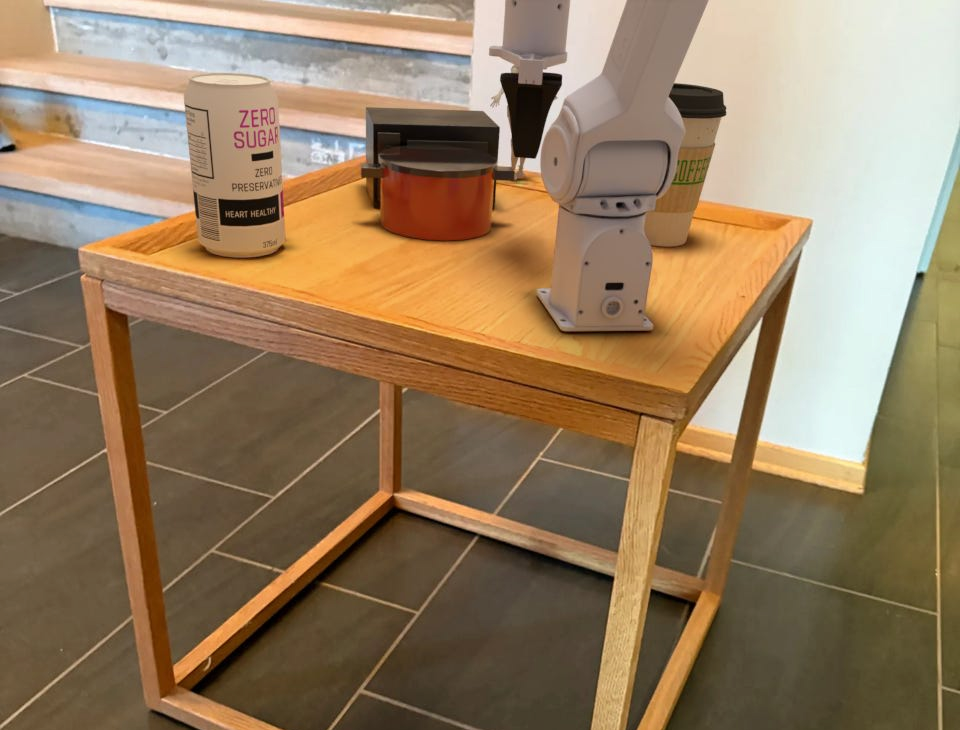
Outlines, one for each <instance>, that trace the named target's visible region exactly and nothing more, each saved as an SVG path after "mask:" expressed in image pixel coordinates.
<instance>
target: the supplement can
mask: <svg viewBox="0 0 960 730" xmlns="http://www.w3.org/2000/svg"><path fill="white" fill-rule="evenodd" d="M183 103H184V113H185V122H186V133H187V142H188V154H189V163H190V172H191V182H192V184H191V185H192V192H193V203H194V212H195V213H194V214H195V222H196V232H197V233H196V235H197V240H198V243H199V244H200V245H201V246H203V247H204V248H205V250H206V251H207V252H209V253H211V254H212V255H216V256H220V257H225V258H226V257H227V258H235V259H236V258H238V259H239V258H240V259H243V258H244V259H246V258H257V257H263V256H267V255H268V256H269V255H271V254H273V253H275V252H277V251H278V250H279V248H280V247H281V246H282V245H283V244H284V243H285V242H286V225H285V224H286V223H285V205H284V186H283V185H284V184H283V168H282V167H283V165H282V164H283V163H282V148H281V147H282V146H281V130H280V129H281V127H280V126H281V125H280V111H279V109H280V108H279V107H280V106H279V98H278V96H277V94H276V92H275V90H274V88H273V86H272V84H271V80H270V78H269V77H267V76H262V75H258V74H250V73H239V72H208V73H207V72H206V73H198V74H197V73H196V74H193V75H190V76H188V83H187V86H186V88H185V91H184V93H183Z"/></svg>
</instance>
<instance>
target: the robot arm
mask: <svg viewBox="0 0 960 730" xmlns="http://www.w3.org/2000/svg"><path fill="white" fill-rule="evenodd" d="M709 1H710V0H626V1H625V4H624V7H623V10H622V13H621V16H620V19H619V21H618V25H617V27H616V30H615V32H614V36H613V39H612V41H611V44H610V48H609V51H608V53H607V57H606V59H605V62H604V65H603V67H602V71H601V73H600V74H599V75H598V76H596V77H595V78H593V79H592V80H590V81H589V82H587V83H585V84H584V85H582V86H581V87H579V88H577V89H576V90H575V91H573V92H571V93H570V94H569V95H567V96H566V97H565V98H564V99H563V102H562V106H561V108H560V111H559V114H558V115H557V117H556V119H555V120H554V121H553V122H552V123H551V125H550V127H549V128H548V129H547V130H546V131H547V132H546V133H545V135H544V130H545V127H546V123H547V120H548V119H547V118H548V115H549V113H550V110H551V107H552V105H553V103H554V101H555V100H556V99H555V97H556V96H557V95H558V94H559V91H560V90H561V88H562V86H563V74H561V73H557V72H545V71H544V70H548V68H551V67H554V66H559V65H563V64H565V63H566V62H567V61H568V52H567V51H566V50H567V49H566V48H567V38H568V29H569V28H568V27H569V17H570V8H571V0H505V2H504V17H503V18H504V19H503V33H502V34H503V35H502V45H490V46H489V48H488V56H490V57H495V58H496V57H497V58H500V59H502V60H504V61H506V62H508V63H510V64H513V65H514V64H515V65H517V66H519V73H511V72H502V73H501V74H500V75H499V83H500V85H501V87H502V88H503V91H504V93H503V94H504V96H505V100H506V104H507V106H508V108H509V114H510V122H511V129H510V133H511V138H512V146H513V152H514V157H519V158H518V159H520V158H526V159H535V160H536V159H537V156H538V153H539V151H540V163H539V164H540V175H541V180H542V184H543V186H544V189H545V191H546V192H547V194H548V195H549V197H550V199H551V200H552V201H553V202H554V203H556V204H557V205H558V211H557V219H556V220H557V221H556V222H557V223H556V230H555V241H554V251H553V261H552V271H551V282H550V288H549V287H548V288H545V287H543V288H537V289H536V292H535V293H536V296H537V297H538V298H539V300H540V301H541V303H542V305H543V306H544V308H545V309H546V310H547V312H548V313H549V315H550V316H551V318H552V320H554V322H555V323H556V325H557V327H558V328H559V329H560V330H561V331H563V332H626V331H627V332H634V331H635V332H638V331H639V332H641V331H642V332H643V331H646V332H647V331H652V330H653V329H654V324H653V322H652V321H651V320H650V319H649V318H648V317H647V315H645V314H646V307H647V300H648V294H649V289H650V281H651V275H652V269H653V268H652V267H653V262H654V257H653V256H654V254H653V250H652V249H653V248H652V245H650V243H649V241H648V239H647V238H646V236H645V233H644V225H645V218H646V211H652V210H655V205H656V199H659V198H661V197H662V196H663V195H664V194H665V193H666V192H667V190H668V189H669V187H670V185H671V183H672V181H673V179H674V176H675V172H676V168H677V160H678V153H679V148H680V145H681V142H682V140H683V138H684V136H685V133H686V131H685V127H684V124H683V120H682V117H681V115H680V113H679V111H678V109H677V107H676V106H675V104H674V103H673V102H672V100H671V99H670V98H669V97H668V96H669V94H670V92H671V89H672V87H673V84H674V83H676V79H677V77H678V75H679V72H680V70H681V68H682V66H683V63H684V61H685V58H686V56H687V53H688V51H689V48H690V46H691V44H692V41H693V39H694V36H695V34H696V32H697V29H698V28H699V24H700V22H701V20H702V17H703V15H704V13H705V11H706V8H707V6H708V3H709ZM554 99H555V100H554ZM543 135H544V137H543ZM542 139H543V140H542ZM541 143H542V144H541ZM540 147H541V150H540Z"/></svg>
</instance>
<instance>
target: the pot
mask: <svg viewBox="0 0 960 730" xmlns="http://www.w3.org/2000/svg"><path fill="white" fill-rule="evenodd" d="M379 163H380V164H366V163H363V162H362V163H359V175H360V177H361V178H363V179H366V178H381V207H380V208H379V209H380V210H379V211H380V219H379V221H380V225H381V226H382V227H383V228H384V229H385V230H387V231H388V232H390V233H393V234H396V235H400V236H401V237H402V236H403V237H407V238H411V239H417V240H426V241H463V240H470V239H475V238H479V237H482V236H485V235H486V234H488V233H489V232H490V231H491V229H492V219H493V210H492V205H493V189H494V180H496V181H515V180H514V175H515V173H516V170H515V171H514V170H513V169H512V167H511V166H499V165H498V164H497V160H496V158H495V157H493V156H491V155H489V154H487V153H484V152H480V151H477V150H472V149H467V148H461V147H453V146H441V145H407V146H398V147H392V148H388V149H385V150H383V151H381V152H380V153H379Z"/></svg>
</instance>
